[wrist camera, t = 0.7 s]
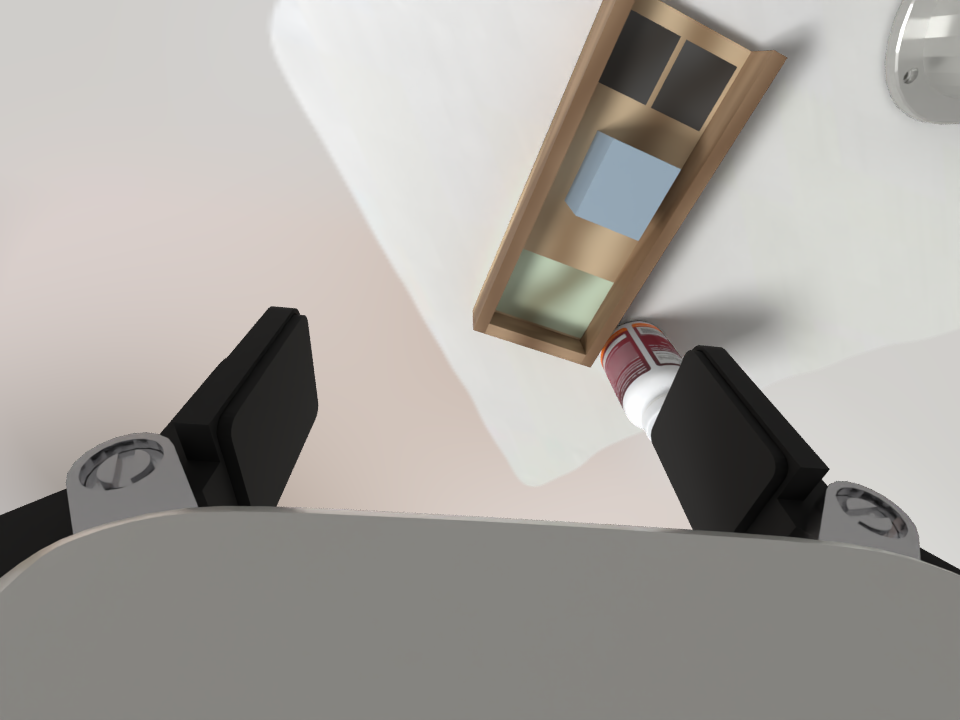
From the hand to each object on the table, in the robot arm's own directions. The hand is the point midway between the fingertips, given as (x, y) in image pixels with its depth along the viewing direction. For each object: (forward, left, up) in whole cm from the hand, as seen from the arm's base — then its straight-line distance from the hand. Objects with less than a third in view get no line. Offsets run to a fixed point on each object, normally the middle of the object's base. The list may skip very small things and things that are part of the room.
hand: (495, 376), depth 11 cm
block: (-9, -3, -25) cm, 27 cm away
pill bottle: (-19, +9, -26) cm, 34 cm away
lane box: (-9, -1, -26) cm, 28 cm away
